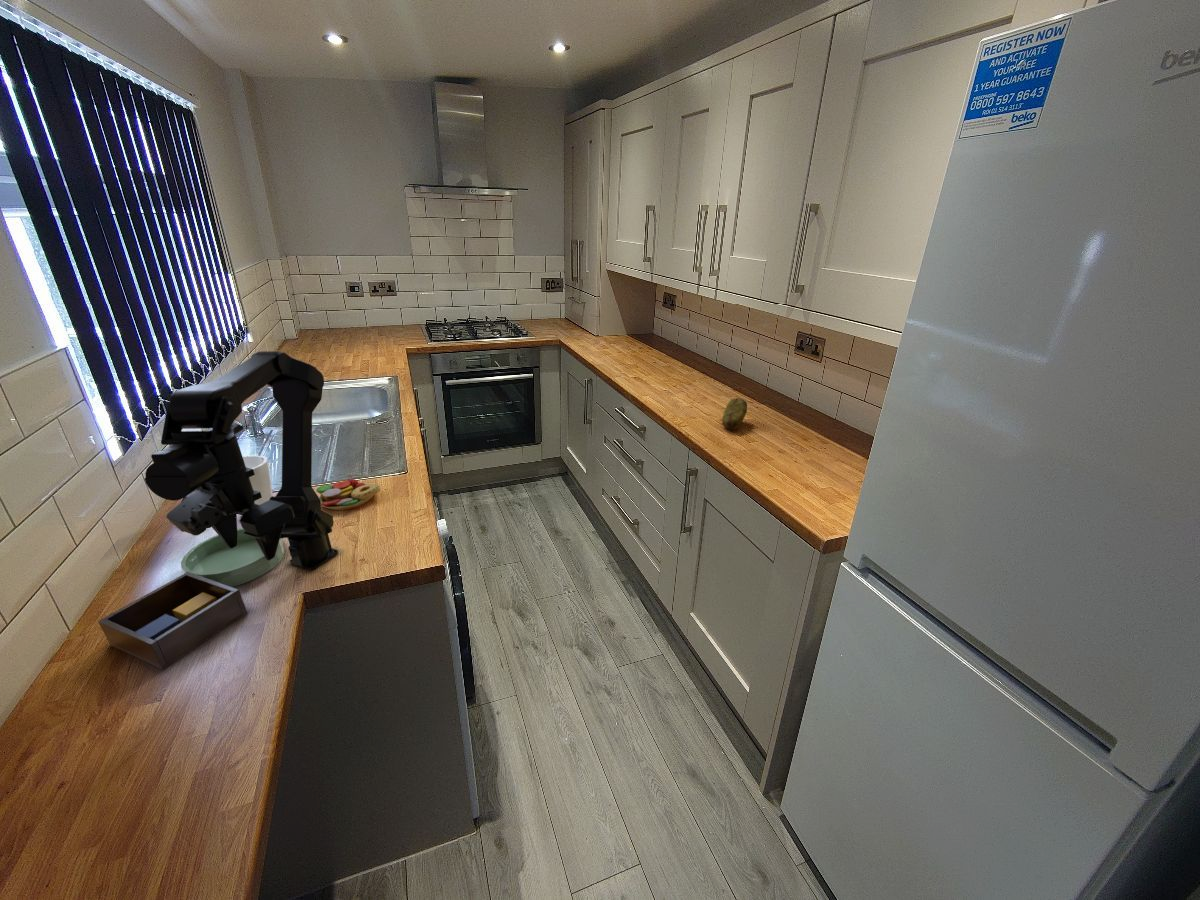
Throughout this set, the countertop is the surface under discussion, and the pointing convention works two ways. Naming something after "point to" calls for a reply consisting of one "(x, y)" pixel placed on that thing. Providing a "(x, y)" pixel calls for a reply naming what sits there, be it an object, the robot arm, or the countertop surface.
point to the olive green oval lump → (734, 413)
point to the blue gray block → (159, 626)
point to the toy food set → (346, 494)
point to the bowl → (230, 560)
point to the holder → (162, 602)
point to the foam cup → (260, 476)
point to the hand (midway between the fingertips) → (251, 552)
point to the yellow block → (193, 606)
